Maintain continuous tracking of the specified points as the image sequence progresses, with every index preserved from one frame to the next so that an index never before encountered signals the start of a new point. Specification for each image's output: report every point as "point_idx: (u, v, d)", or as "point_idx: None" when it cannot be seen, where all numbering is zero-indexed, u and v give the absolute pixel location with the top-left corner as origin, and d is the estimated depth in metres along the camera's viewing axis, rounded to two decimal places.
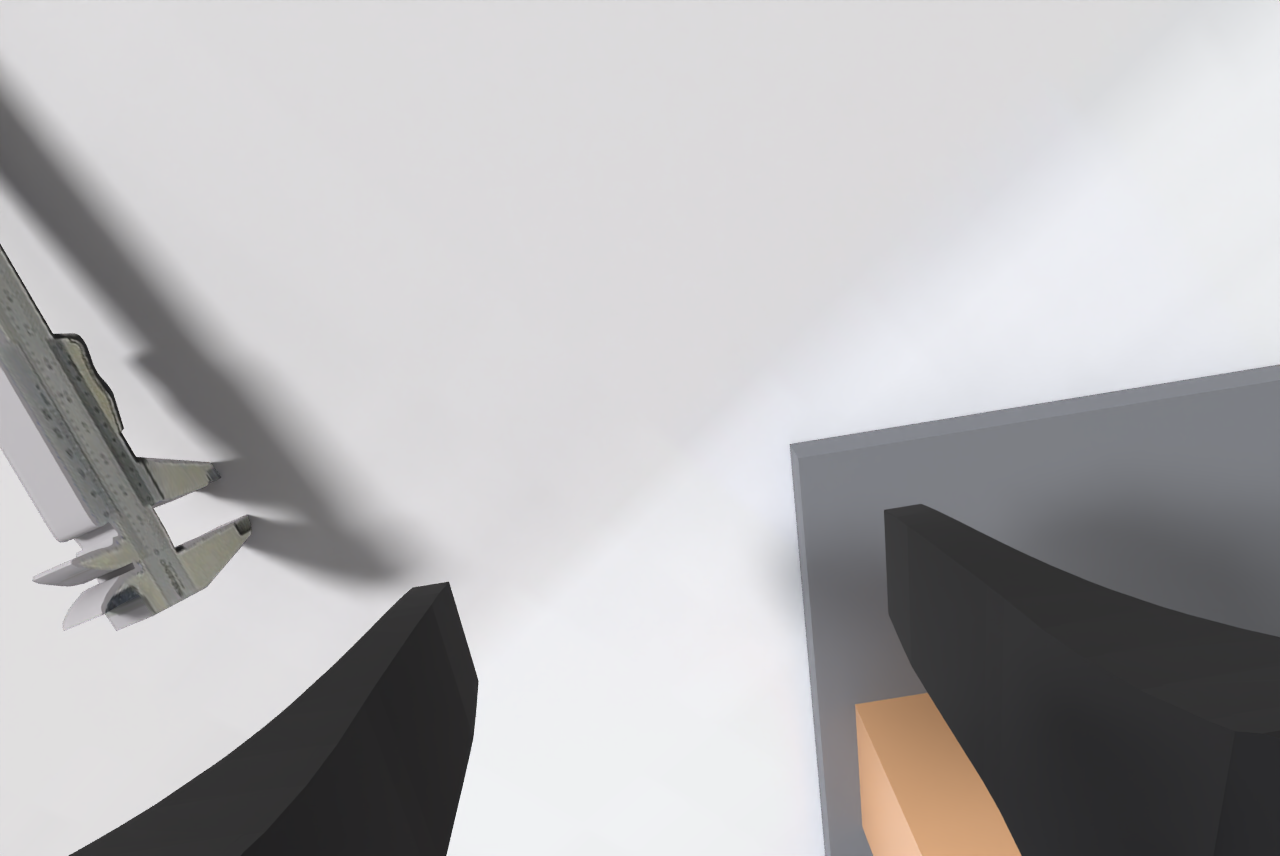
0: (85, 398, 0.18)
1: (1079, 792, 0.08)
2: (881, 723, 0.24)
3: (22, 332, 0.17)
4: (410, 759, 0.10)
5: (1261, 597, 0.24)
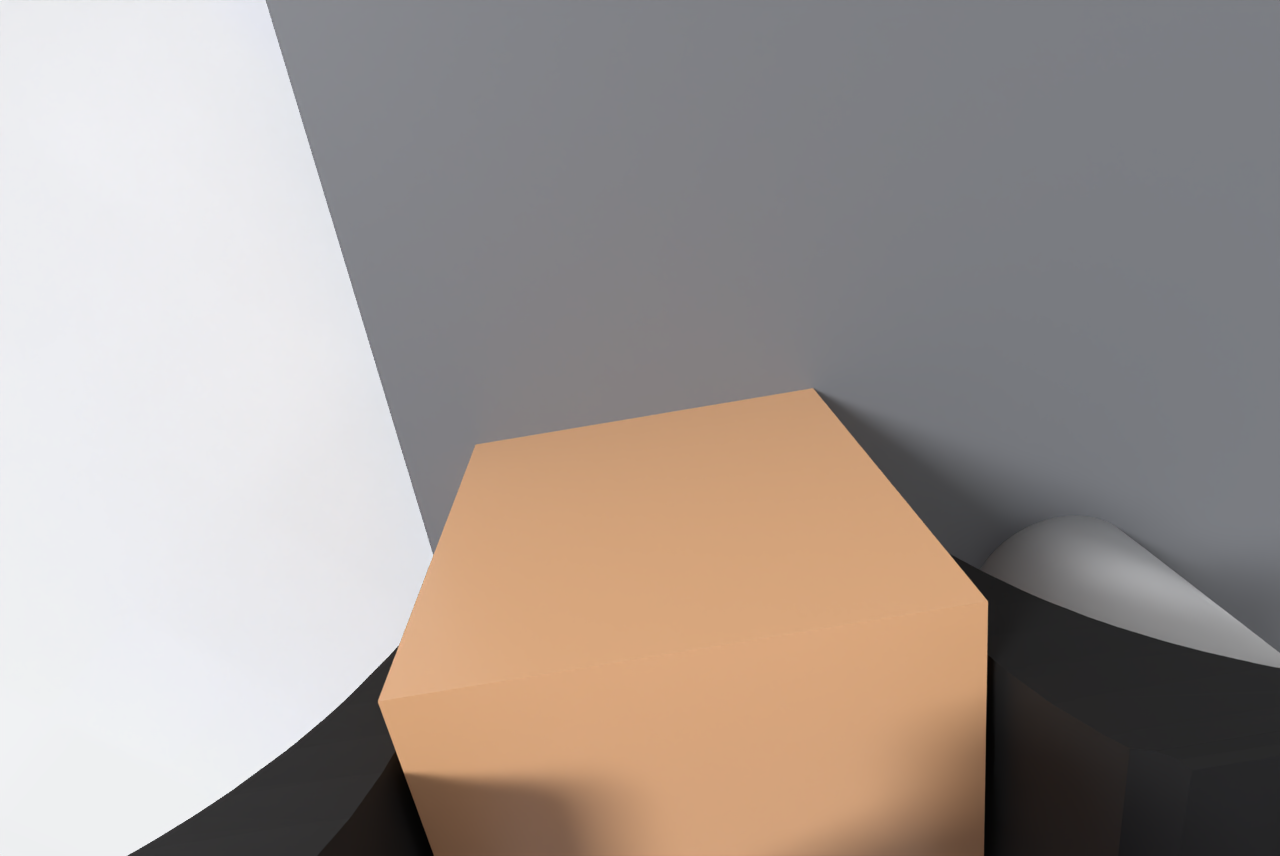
0: None
1: (1006, 804, 0.08)
2: (500, 463, 0.12)
3: None
4: None
5: None
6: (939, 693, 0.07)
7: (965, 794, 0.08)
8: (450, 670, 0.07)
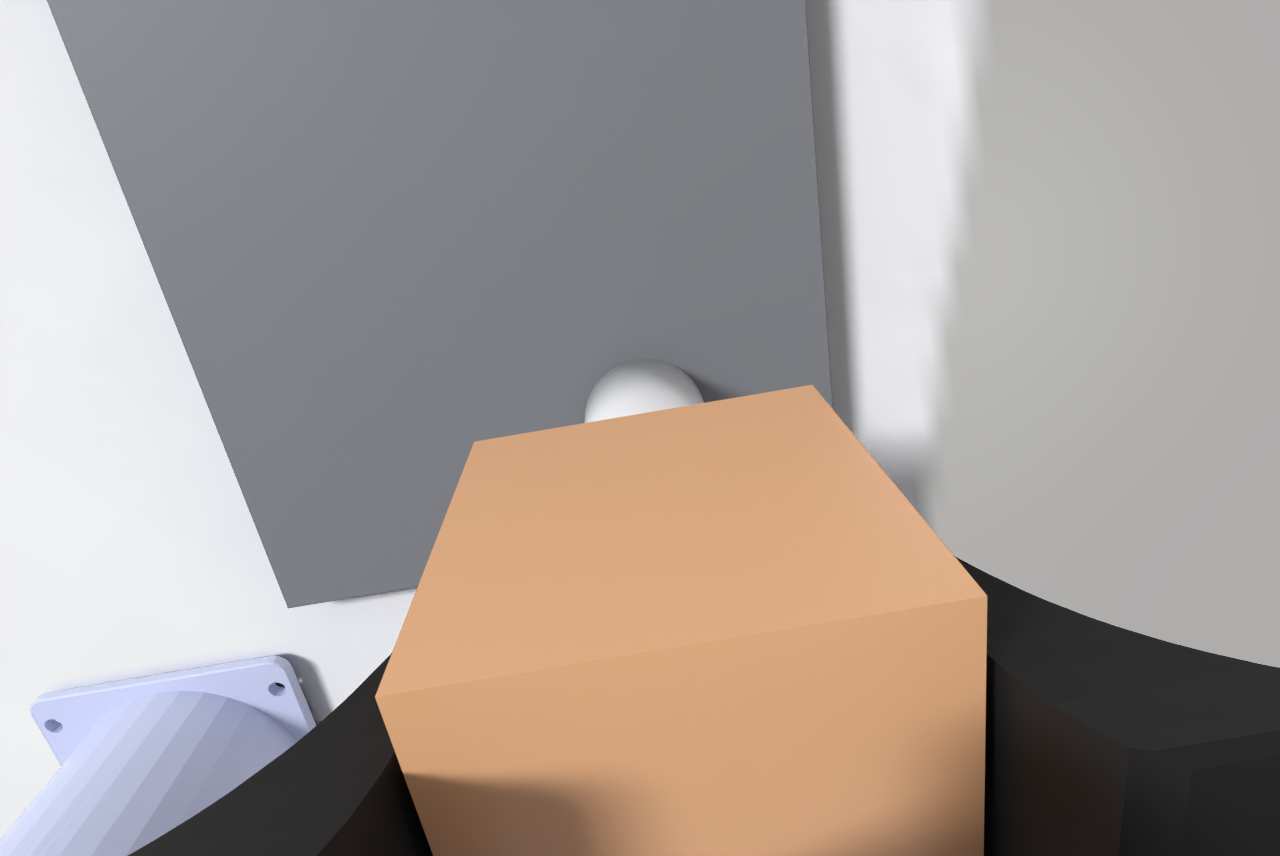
0: None
1: (1006, 803, 0.08)
2: (499, 460, 0.12)
3: None
4: None
5: (743, 136, 0.18)
6: (938, 688, 0.07)
7: (965, 790, 0.08)
8: (449, 665, 0.07)
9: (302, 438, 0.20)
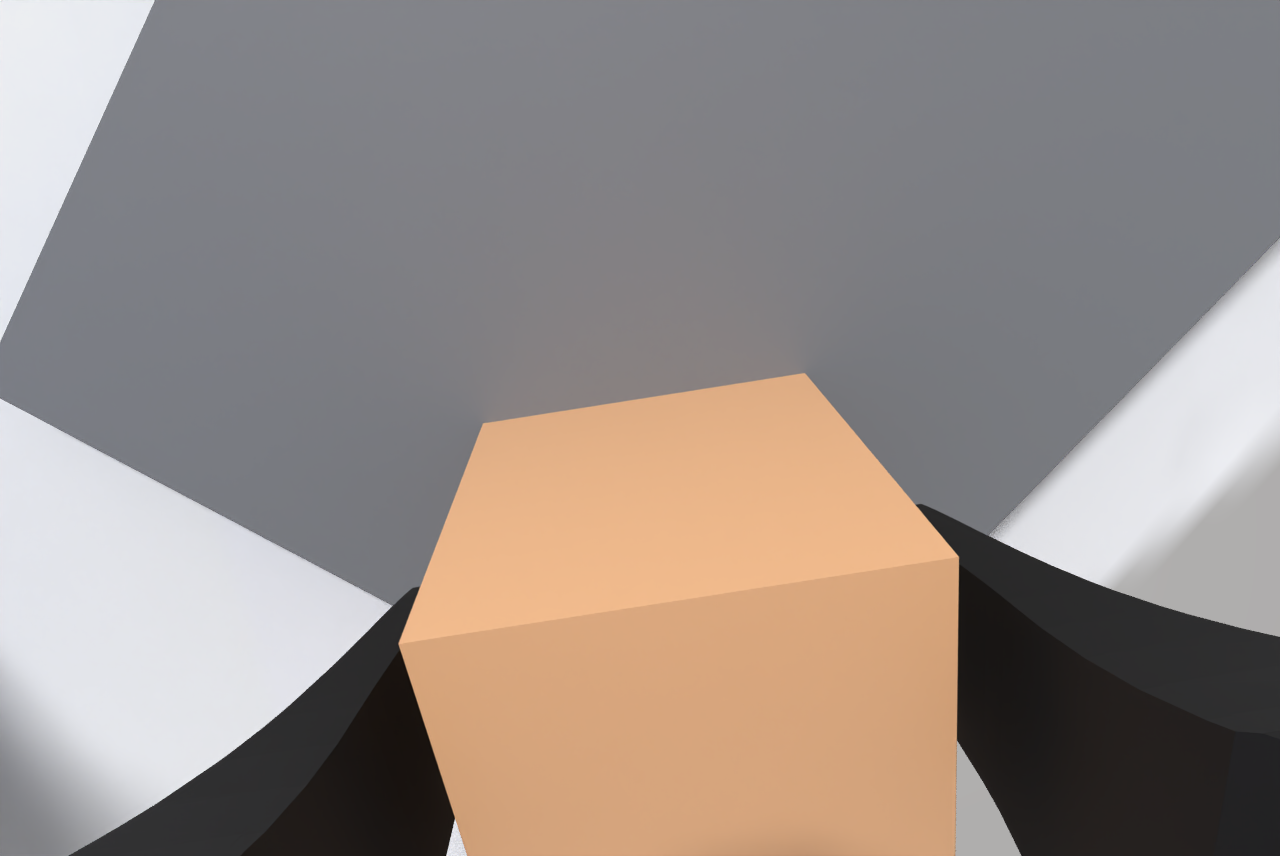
0: None
1: (1079, 792, 0.08)
2: (507, 440, 0.12)
3: None
4: (410, 759, 0.10)
5: (1041, 366, 0.13)
6: (914, 643, 0.08)
7: (938, 740, 0.08)
8: (465, 617, 0.08)
9: (233, 206, 0.12)
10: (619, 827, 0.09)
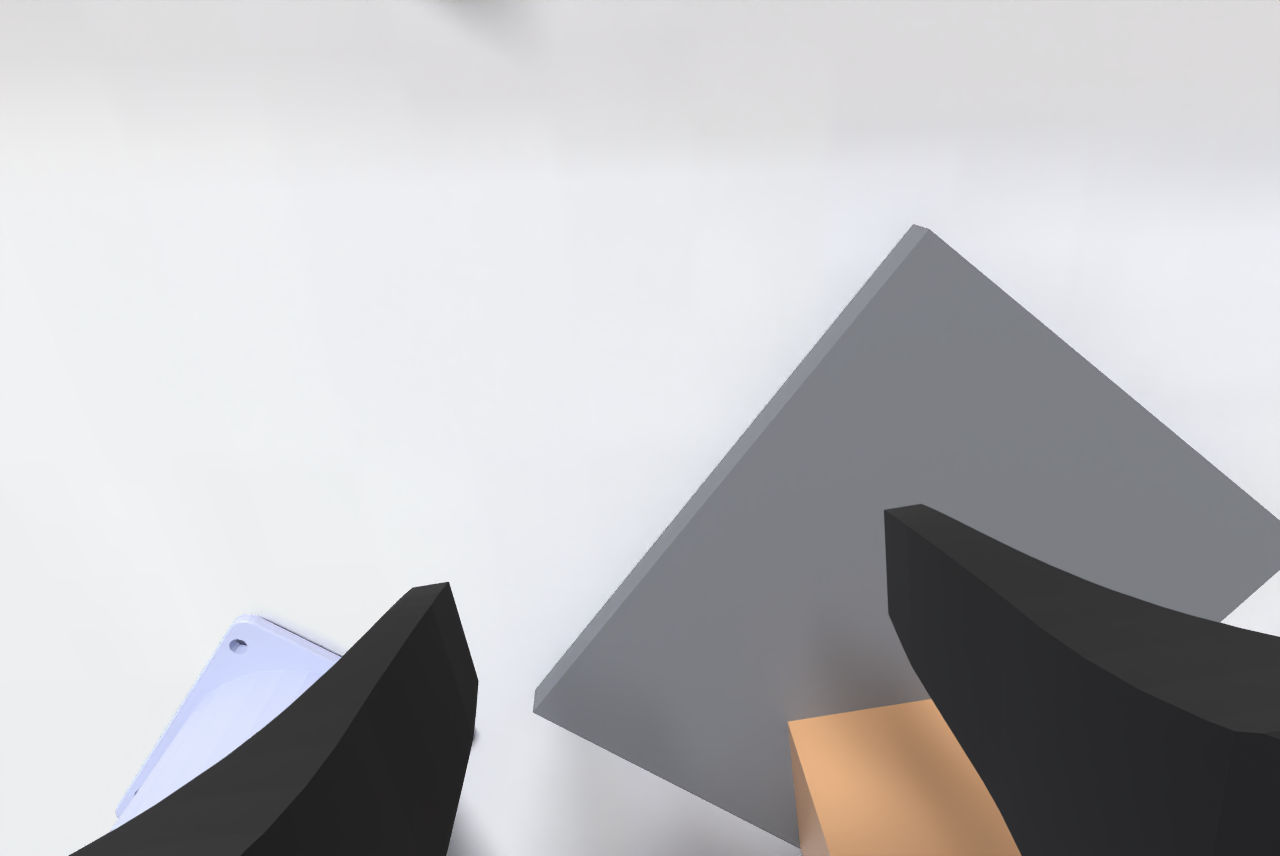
0: None
1: (1079, 792, 0.08)
2: (812, 741, 0.23)
3: None
4: (410, 759, 0.10)
5: None
6: None
7: None
8: None
9: (680, 631, 0.23)
10: None
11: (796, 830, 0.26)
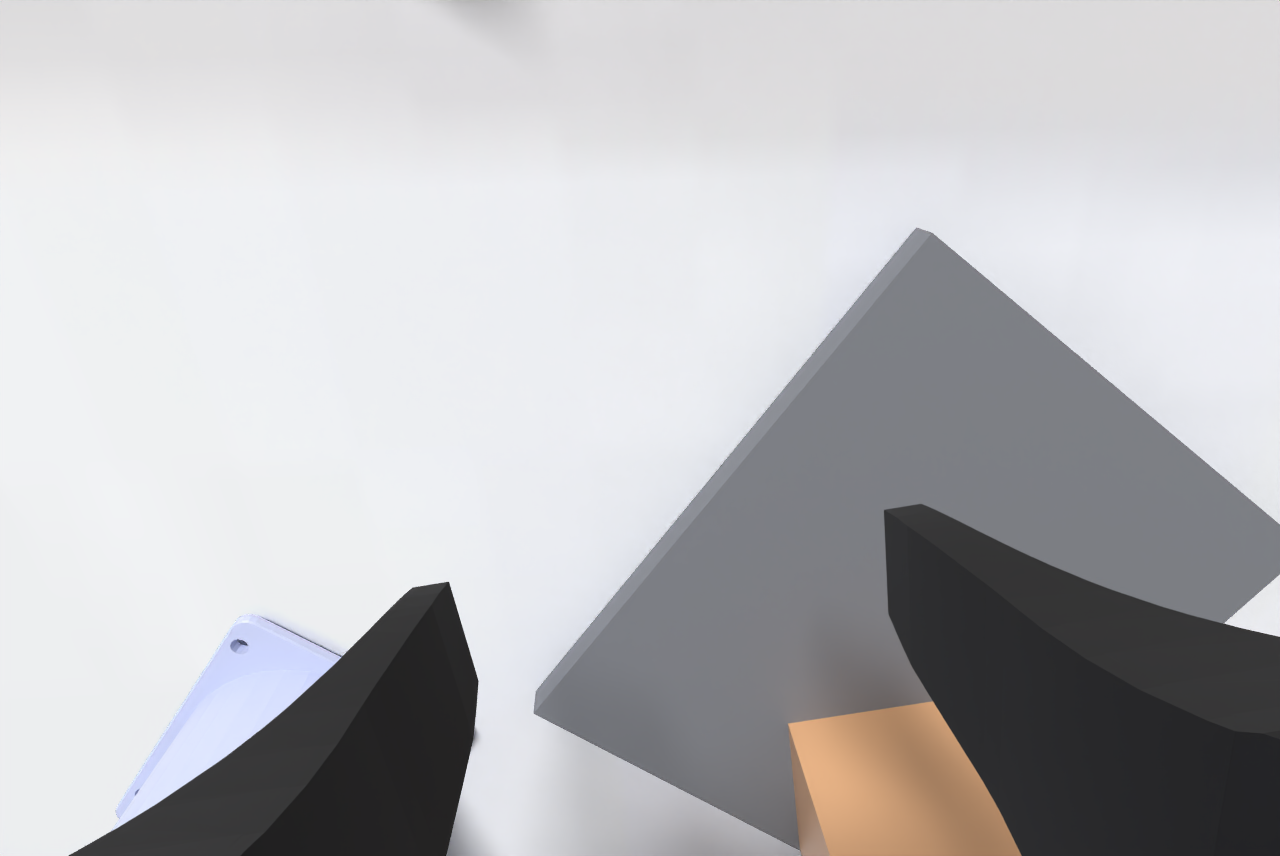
0: None
1: (1079, 792, 0.08)
2: (812, 743, 0.24)
3: None
4: (410, 759, 0.10)
5: None
6: None
7: None
8: None
9: (681, 633, 0.23)
10: None
11: (796, 832, 0.26)
